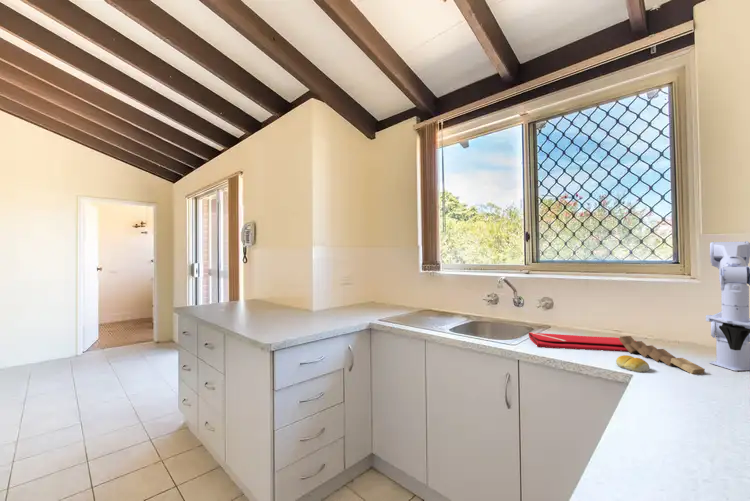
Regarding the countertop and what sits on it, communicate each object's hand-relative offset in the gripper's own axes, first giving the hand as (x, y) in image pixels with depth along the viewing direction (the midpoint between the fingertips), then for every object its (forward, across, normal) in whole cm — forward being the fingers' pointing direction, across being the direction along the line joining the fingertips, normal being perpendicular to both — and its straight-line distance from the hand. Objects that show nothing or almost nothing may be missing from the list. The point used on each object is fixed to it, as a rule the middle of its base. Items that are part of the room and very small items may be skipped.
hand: (735, 349), depth 100 cm
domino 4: (+9, -14, -4) cm, 17 cm away
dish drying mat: (+11, -42, -16) cm, 46 cm away
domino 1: (+9, -28, -5) cm, 30 cm away
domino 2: (+9, -23, -4) cm, 25 cm away
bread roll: (+10, -15, -20) cm, 27 cm away
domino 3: (+9, -19, -4) cm, 21 cm away
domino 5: (+9, -7, -4) cm, 12 cm away
